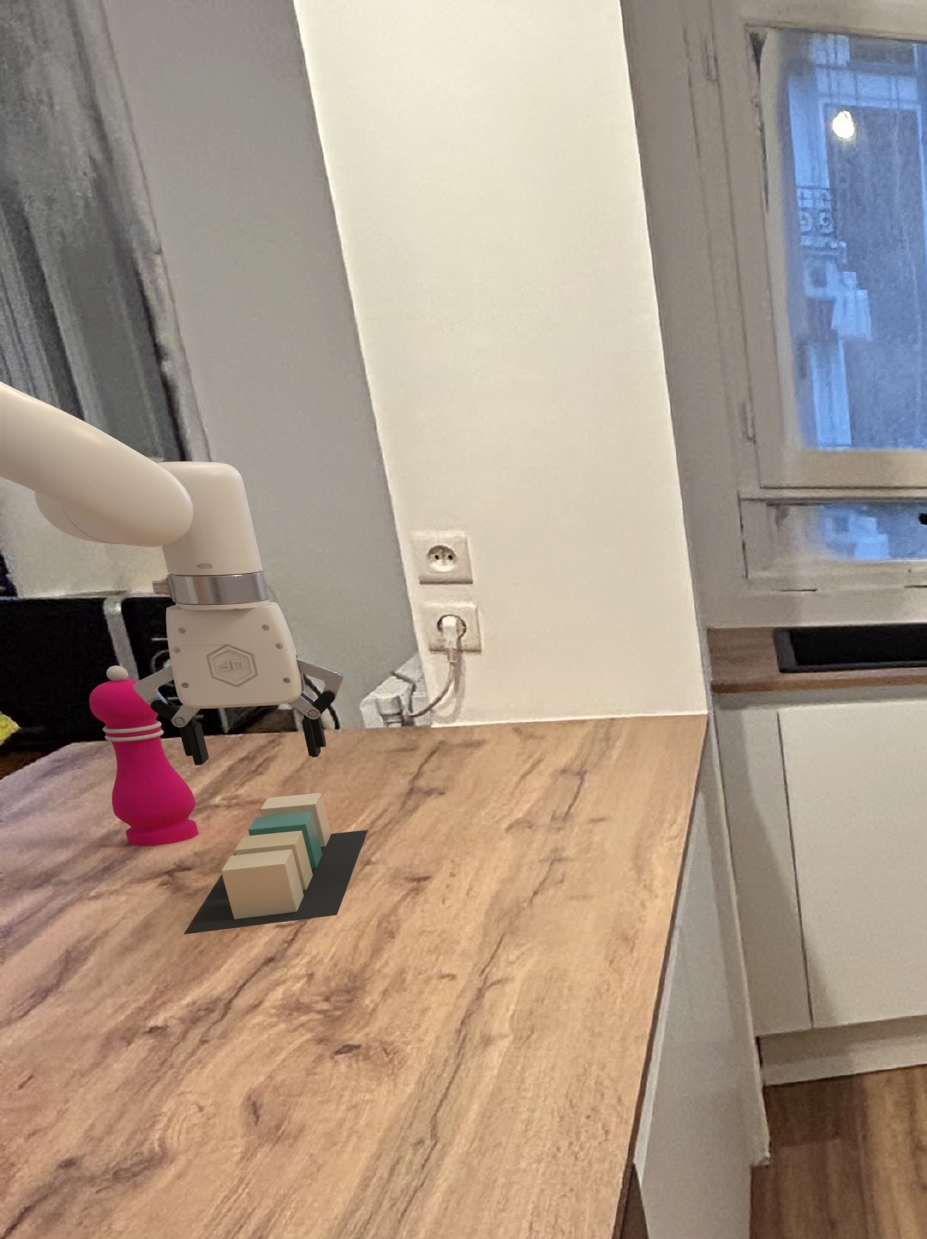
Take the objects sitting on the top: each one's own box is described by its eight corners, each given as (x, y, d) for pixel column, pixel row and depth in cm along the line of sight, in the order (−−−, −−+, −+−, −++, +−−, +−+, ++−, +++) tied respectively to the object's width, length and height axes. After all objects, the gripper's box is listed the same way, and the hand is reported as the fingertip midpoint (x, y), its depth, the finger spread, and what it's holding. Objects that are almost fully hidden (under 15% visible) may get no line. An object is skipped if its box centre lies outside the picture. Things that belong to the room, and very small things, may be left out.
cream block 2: (246, 897, 136) (234, 850, 134) (254, 882, 140) (242, 836, 138) (306, 890, 138) (295, 843, 137) (313, 875, 142) (301, 830, 141)
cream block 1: (271, 852, 149) (260, 808, 147) (278, 840, 153) (267, 797, 152) (325, 846, 151) (315, 803, 150) (331, 834, 156) (321, 792, 154)
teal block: (259, 874, 142) (247, 829, 141) (267, 861, 146) (255, 817, 145) (316, 868, 145) (305, 823, 143) (322, 855, 149) (312, 811, 147)
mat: (184, 938, 127) (183, 933, 127) (242, 847, 152) (241, 842, 152) (338, 919, 132) (336, 914, 132) (368, 833, 158) (367, 829, 158)
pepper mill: (166, 830, 158) (117, 658, 151) (221, 833, 157) (174, 661, 150) (106, 849, 151) (52, 670, 144) (164, 852, 150) (112, 673, 143)
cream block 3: (234, 919, 130) (220, 870, 128) (243, 903, 134) (230, 855, 133) (297, 911, 132) (284, 863, 131) (304, 896, 137) (292, 849, 135)
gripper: (100, 598, 128) (146, 774, 134) (320, 592, 136) (355, 759, 142) (120, 589, 134) (163, 757, 140) (329, 585, 142) (362, 744, 148)
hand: (259, 758), depth 141 cm, fingers open, 9 cm apart
